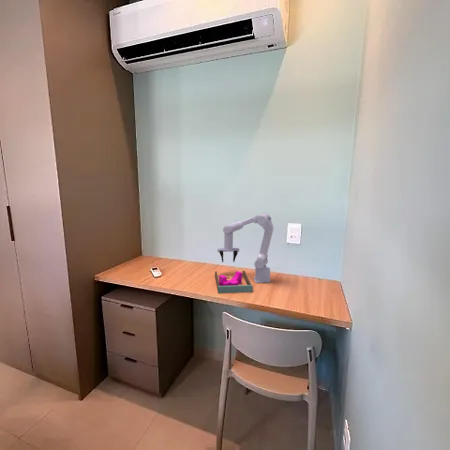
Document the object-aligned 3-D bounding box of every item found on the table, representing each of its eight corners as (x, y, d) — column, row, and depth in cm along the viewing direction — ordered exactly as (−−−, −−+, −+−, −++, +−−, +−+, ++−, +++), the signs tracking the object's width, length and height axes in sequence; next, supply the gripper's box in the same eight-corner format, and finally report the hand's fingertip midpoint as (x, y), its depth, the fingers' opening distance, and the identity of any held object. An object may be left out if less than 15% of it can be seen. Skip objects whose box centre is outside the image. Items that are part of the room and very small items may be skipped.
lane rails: (244, 274, 187) (244, 270, 186) (252, 291, 161) (252, 286, 160) (214, 275, 185) (214, 271, 184) (217, 292, 159) (218, 287, 158)
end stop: (252, 291, 161) (252, 284, 160) (252, 292, 160) (252, 285, 159) (217, 292, 159) (218, 285, 158) (218, 293, 158) (218, 286, 157)
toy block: (224, 290, 162) (225, 279, 160) (218, 287, 166) (219, 275, 165) (244, 285, 170) (244, 273, 169) (237, 281, 175) (238, 270, 174)
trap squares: (241, 274, 187) (241, 274, 187) (242, 278, 181) (242, 277, 181) (218, 275, 185) (218, 275, 185) (218, 278, 179) (218, 278, 179)
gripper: (238, 240, 187) (237, 259, 190) (217, 241, 185) (217, 260, 188) (239, 243, 180) (239, 262, 183) (218, 243, 179) (218, 263, 181)
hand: (228, 261), depth 185 cm, fingers open, 7 cm apart
